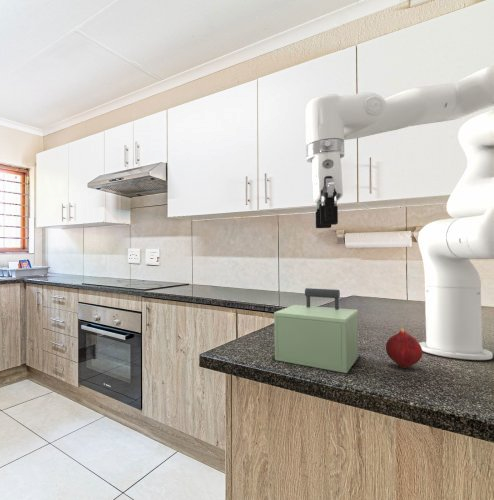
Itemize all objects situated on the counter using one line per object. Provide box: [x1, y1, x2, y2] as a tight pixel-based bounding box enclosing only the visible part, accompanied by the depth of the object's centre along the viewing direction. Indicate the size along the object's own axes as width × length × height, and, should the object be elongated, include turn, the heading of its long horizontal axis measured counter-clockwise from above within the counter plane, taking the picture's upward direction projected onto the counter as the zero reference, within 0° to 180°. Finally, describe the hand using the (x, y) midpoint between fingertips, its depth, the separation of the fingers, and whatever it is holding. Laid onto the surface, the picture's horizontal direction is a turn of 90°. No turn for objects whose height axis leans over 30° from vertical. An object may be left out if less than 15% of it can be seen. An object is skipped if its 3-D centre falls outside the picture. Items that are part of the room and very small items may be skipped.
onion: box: [385, 328, 423, 369], centre depth 71 cm, size 6×6×8 cm
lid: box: [273, 287, 359, 323], centre depth 79 cm, size 15×14×5 cm
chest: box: [273, 314, 359, 374], centre depth 78 cm, size 15×14×10 cm
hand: (326, 226), depth 79 cm, fingers open, 9 cm apart
